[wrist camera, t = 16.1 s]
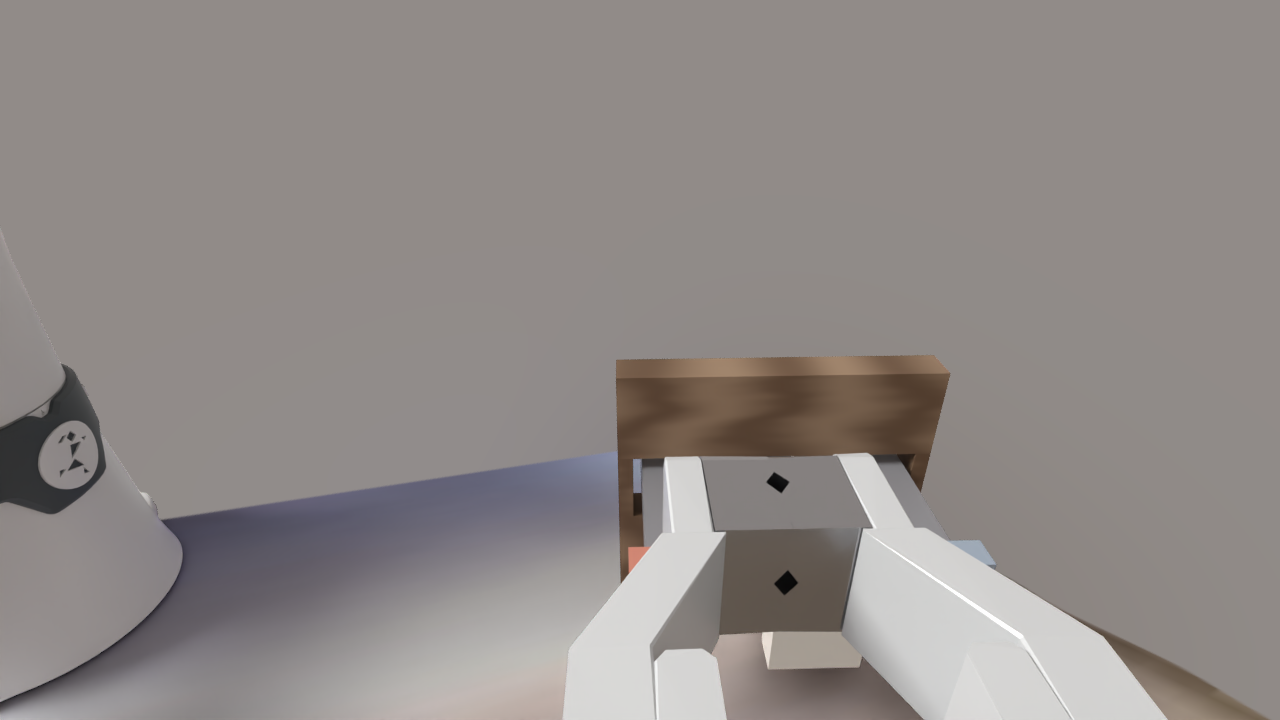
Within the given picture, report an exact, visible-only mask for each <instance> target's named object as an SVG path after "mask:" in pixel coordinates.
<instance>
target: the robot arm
mask: <svg viewBox="0 0 1280 720" xmlns="http://www.w3.org/2000/svg"><path fill="white" fill-rule="evenodd" d="M87 396H88V393H87V391H86V389H85V387H84V386H83V385H82V384H81V383H80V381H79V380H78V378H77V376H76V374H75V372H74V371H73V370H72V369H71V368H69V367H68V366H66V365H63V364H61V363H60V361H59V359H58V357H57V355H56V353H55V350H54V349H53V346H52V344H51V342H50V340H49V338H48V335H47V333H46V331H45V329H44V327H43V325H42V323H41V320H40V318H39V316H38V314H37V312H36V310H35V308H34V306H33V303H32V301H31V299H30V297H29V295H28V292H27V290H26V288H25V286H24V284H23V282H22V279H21V277H20V275H19V273H18V271H17V269H16V266H15V264H14V263H13V260H12V257H11V255H10V252H9V250H8V247H7V245H6V242H5V239H4V236H3V233H2V231H1V227H0V702H1V701H4V700H6V699H8V698H10V697H13V696H15V695H18V694H20V693H23V692H25V691H27V690H30V689H32V688H35V687H37V686H39V685H42V684H44V683H46V682H48V681H50V680H53V679H55V678H57V677H59V676H61V675H63V674H65V673H67V672H68V671H70V670H72V669H74V668H76V667H78V666H79V665H81V664H83V663H85V662H86V661H88V660H90V659H91V658H93V657H95V656H96V655H98V654H99V653H101V652H102V651H104V650H105V649H107V648H108V647H110V646H111V645H113V644H114V643H115V642H117V641H118V640H119V639H121V638H122V637H123V636H125V635H126V634H127V633H128V632H130V631H131V630H132V629H133V628H134V627H136V626H137V625H138V624H139V623H140V622H141V621H142V620H143V619H145V618H146V617H147V616H148V615H149V614H150V613H151V612H152V611H153V610H154V608H155V607H156V606H157V605H158V604H159V603H160V602H161V600H162V599H163V598H164V597H165V595H166V594H167V593H168V591H169V590H170V588H171V587H172V585H173V583H174V582H175V580H176V578H177V576H178V573H179V571H180V568H181V564H182V558H183V552H182V547H181V544H180V542H179V540H178V538H177V537H176V536H175V535H174V534H173V533H172V532H171V531H170V530H169V529H168V528H167V527H166V526H165V525H164V523H163V522H162V521H161V520H160V519H159V518H158V513H157V507H156V504H155V503H154V501H153V500H152V498H151V497H150V495H149V494H147V493H143V492H140V491H139V490H138V488H137V487H136V485H135V484H134V482H133V480H132V479H131V477H130V476H129V474H128V473H127V471H126V470H125V468H124V467H123V465H122V464H121V462H120V460H119V459H118V457H117V456H116V455H115V453H114V452H113V450H112V448H111V447H110V445H109V444H108V442H107V441H106V439H105V438H104V436H103V435H102V433H101V432H100V428H99V420H98V418H97V416H96V413H95V411H94V409H93V407H92V405H91V403H90V401H89V399H88V397H87ZM662 520H663V533H662V534H661V535H660V536H659V537H658V538H657V540H656V541H655V542H654V543H653V545H652V546H651V547H650V548H649V550H648V551H647V552H646V553H645V555H644V556H643V557H642V558H641V559H640V561H639V562H638V563H637V564H636V566H635V567H634V568H633V569H632V571H631V572H630V573H629V574H628V576H627V577H626V578H625V579H624V581H623V582H622V583H621V584H620V586H619V587H618V588H617V589H616V591H615V592H614V593H613V594H612V596H611V597H610V598H609V599H608V601H607V602H606V603H605V604H604V606H603V607H602V608H601V609H600V610H599V612H598V613H597V614H596V615H595V617H594V618H593V619H592V620H591V622H590V623H589V624H588V625H587V627H586V628H585V629H584V630H583V632H582V633H581V634H580V635H579V637H578V638H577V639H576V640H575V642H574V643H573V644H572V645H571V647H570V648H569V652H568V663H567V675H566V686H565V697H564V708H563V720H727V718H726V712H725V706H724V700H723V693H722V687H721V681H720V675H719V669H718V662H717V658H716V657H714V656H713V655H711V653H712V651H713V649H714V647H715V645H716V643H717V641H718V639H719V635H723V634H742V633H761V632H842V634H841V635H842V636H843V637H844V638H845V639H846V640H847V641H848V642H849V643H850V644H851V645H852V646H853V647H854V648H855V649H856V650H857V651H858V652H859V653H860V654H861V655H862V656H863V657H864V658H865V660H866V661H867V662H868V663H869V664H870V665H871V666H872V667H873V668H874V669H875V670H876V671H877V672H878V673H879V674H880V675H881V676H882V677H883V678H884V679H885V680H886V681H887V682H888V683H889V684H890V685H891V686H892V687H893V688H894V689H895V690H896V691H897V692H898V693H899V694H900V695H901V696H902V697H903V698H904V699H905V701H906V702H907V703H908V704H909V705H910V706H911V707H912V708H913V709H914V710H915V711H916V712H917V713H918V714H919V715H920V716H921V717H922V718H923V719H924V720H1167V718H1166V717H1165V716H1164V714H1163V713H1162V712H1161V710H1160V709H1159V708H1158V707H1157V705H1156V704H1155V703H1154V701H1153V700H1152V699H1151V698H1150V696H1149V695H1148V694H1147V692H1146V691H1145V690H1144V689H1143V687H1142V686H1141V685H1140V683H1139V682H1138V681H1137V680H1136V678H1135V677H1134V676H1133V674H1132V673H1131V672H1130V670H1129V669H1128V668H1127V667H1126V665H1125V664H1124V663H1123V661H1122V660H1121V659H1120V658H1119V656H1118V655H1117V654H1116V652H1115V651H1114V650H1113V649H1112V647H1111V646H1110V645H1109V643H1108V642H1107V641H1106V640H1105V638H1104V637H1103V636H1101V635H1100V634H1098V633H1096V632H1095V631H1093V630H1092V629H1090V628H1088V627H1087V626H1085V625H1083V624H1082V623H1080V622H1078V621H1077V620H1075V619H1074V618H1072V617H1070V616H1069V615H1067V614H1065V613H1064V612H1062V611H1061V610H1059V609H1057V608H1056V607H1054V606H1052V605H1051V604H1049V603H1047V602H1046V601H1044V600H1043V599H1041V598H1039V597H1038V596H1036V595H1034V594H1033V593H1031V592H1030V591H1028V590H1026V589H1025V588H1023V587H1021V586H1020V585H1018V584H1017V583H1015V582H1013V581H1012V580H1010V579H1008V578H1007V577H1005V576H1003V575H1002V574H1000V573H999V572H997V571H995V570H994V569H992V568H990V567H989V566H987V565H986V564H984V563H982V562H981V561H979V560H977V559H976V558H974V557H972V556H971V555H969V554H968V553H966V552H964V551H963V550H961V549H959V548H958V547H956V546H955V545H953V544H951V543H950V542H948V541H946V540H945V539H943V538H941V537H940V536H938V535H937V534H935V533H933V532H932V531H930V530H928V529H927V528H915V527H914V525H913V524H912V522H911V520H910V519H909V517H908V515H907V514H906V512H905V510H904V508H903V507H902V505H901V503H900V502H899V500H898V498H897V496H896V495H895V493H894V491H893V490H892V488H891V486H890V485H889V483H888V481H887V479H886V478H885V476H884V474H883V473H882V471H881V469H880V467H879V466H878V464H877V462H876V461H875V459H874V457H873V456H872V455H870V454H868V453H852V454H833V456H795V457H744V456H700V458H699V457H698V456H693V457H665V459H664V469H663V518H662Z"/></svg>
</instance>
